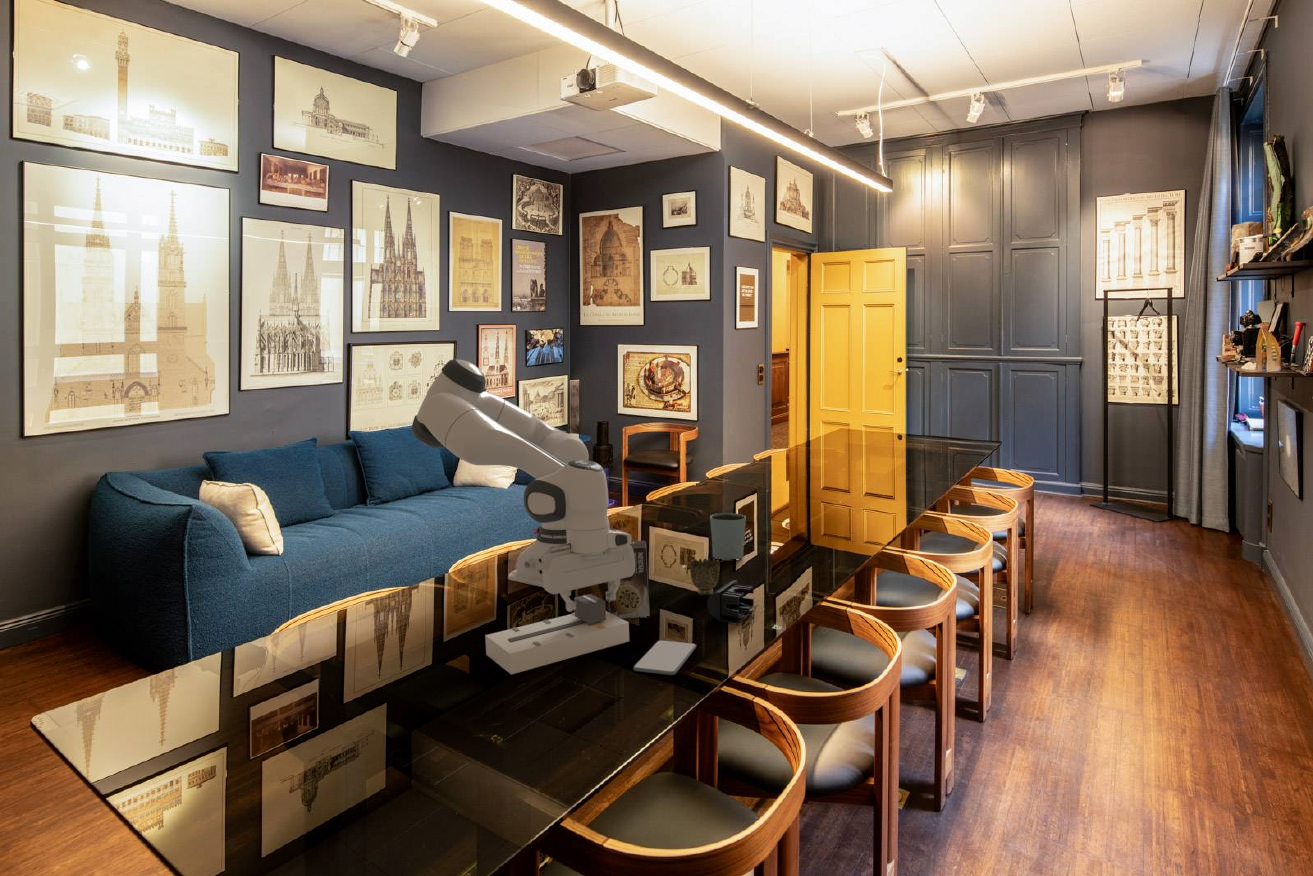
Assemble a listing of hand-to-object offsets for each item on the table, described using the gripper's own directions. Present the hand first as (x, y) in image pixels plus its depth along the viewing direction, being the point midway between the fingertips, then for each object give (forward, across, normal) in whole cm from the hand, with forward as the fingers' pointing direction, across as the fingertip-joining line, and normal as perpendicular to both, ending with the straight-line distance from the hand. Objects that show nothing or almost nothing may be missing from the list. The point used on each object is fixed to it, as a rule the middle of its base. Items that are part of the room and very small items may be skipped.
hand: (591, 605), depth 157 cm
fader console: (+7, -8, 0) cm, 11 cm away
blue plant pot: (+8, +62, +29) cm, 69 cm away
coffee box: (+7, +14, +8) cm, 18 cm away
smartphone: (+8, +6, -18) cm, 20 cm away
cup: (+8, +36, +8) cm, 38 cm away
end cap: (+8, +31, -8) cm, 33 cm away
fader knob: (+3, 0, 0) cm, 3 cm away
